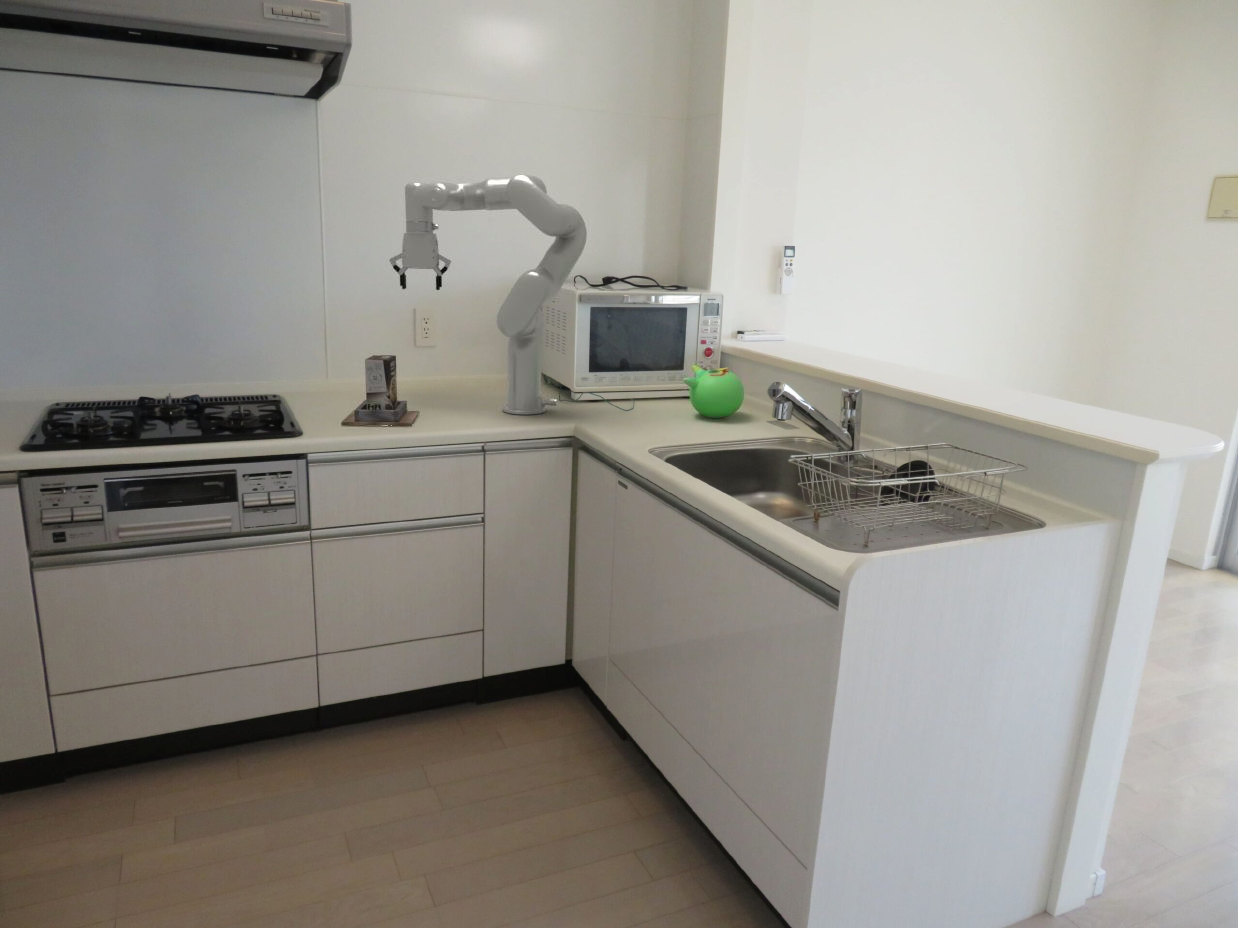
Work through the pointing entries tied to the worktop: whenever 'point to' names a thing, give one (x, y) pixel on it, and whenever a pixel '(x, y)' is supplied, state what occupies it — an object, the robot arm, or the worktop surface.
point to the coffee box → (381, 382)
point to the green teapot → (715, 392)
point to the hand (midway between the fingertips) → (421, 289)
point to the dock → (381, 416)
